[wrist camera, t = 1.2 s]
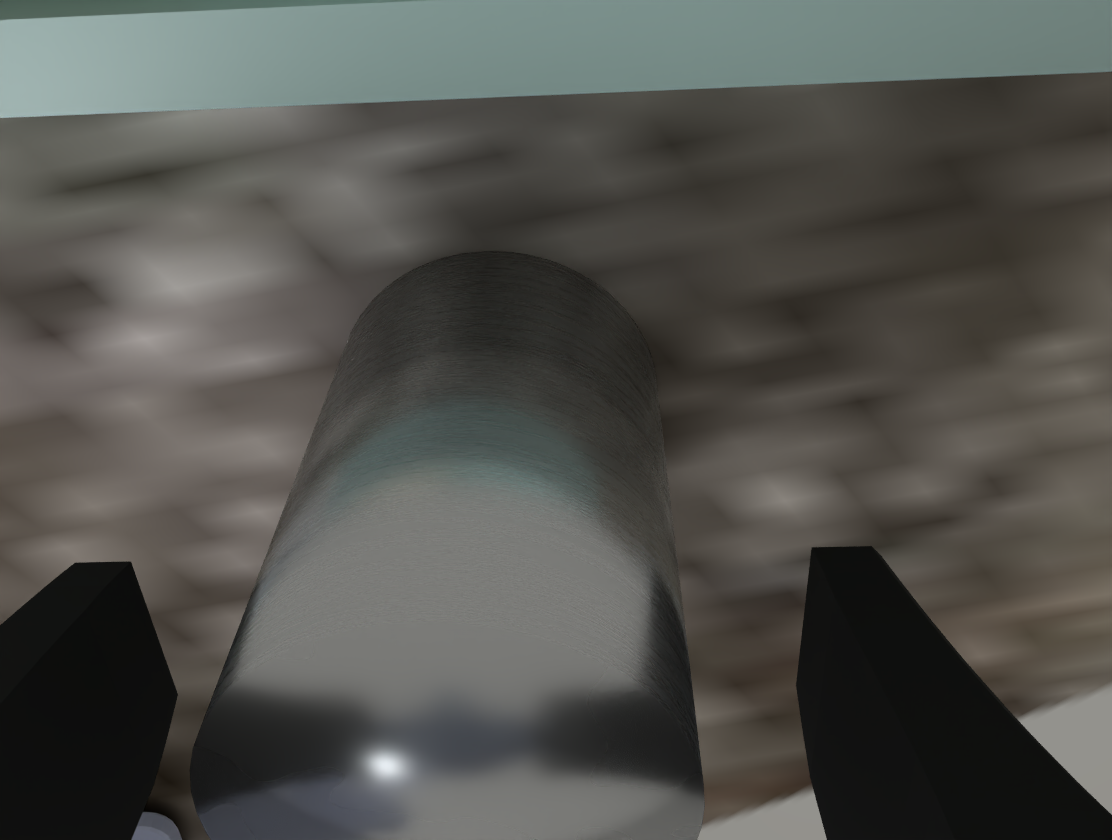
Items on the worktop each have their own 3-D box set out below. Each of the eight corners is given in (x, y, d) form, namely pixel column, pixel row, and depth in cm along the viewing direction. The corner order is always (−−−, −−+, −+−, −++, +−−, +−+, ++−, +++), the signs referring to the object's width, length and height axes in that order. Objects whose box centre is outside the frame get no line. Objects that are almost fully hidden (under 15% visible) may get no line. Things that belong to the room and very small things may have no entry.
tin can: (365, 524, 17) (249, 953, 11) (315, 257, 14) (129, 628, 8) (656, 517, 17) (697, 951, 11) (657, 245, 14) (713, 615, 8)
